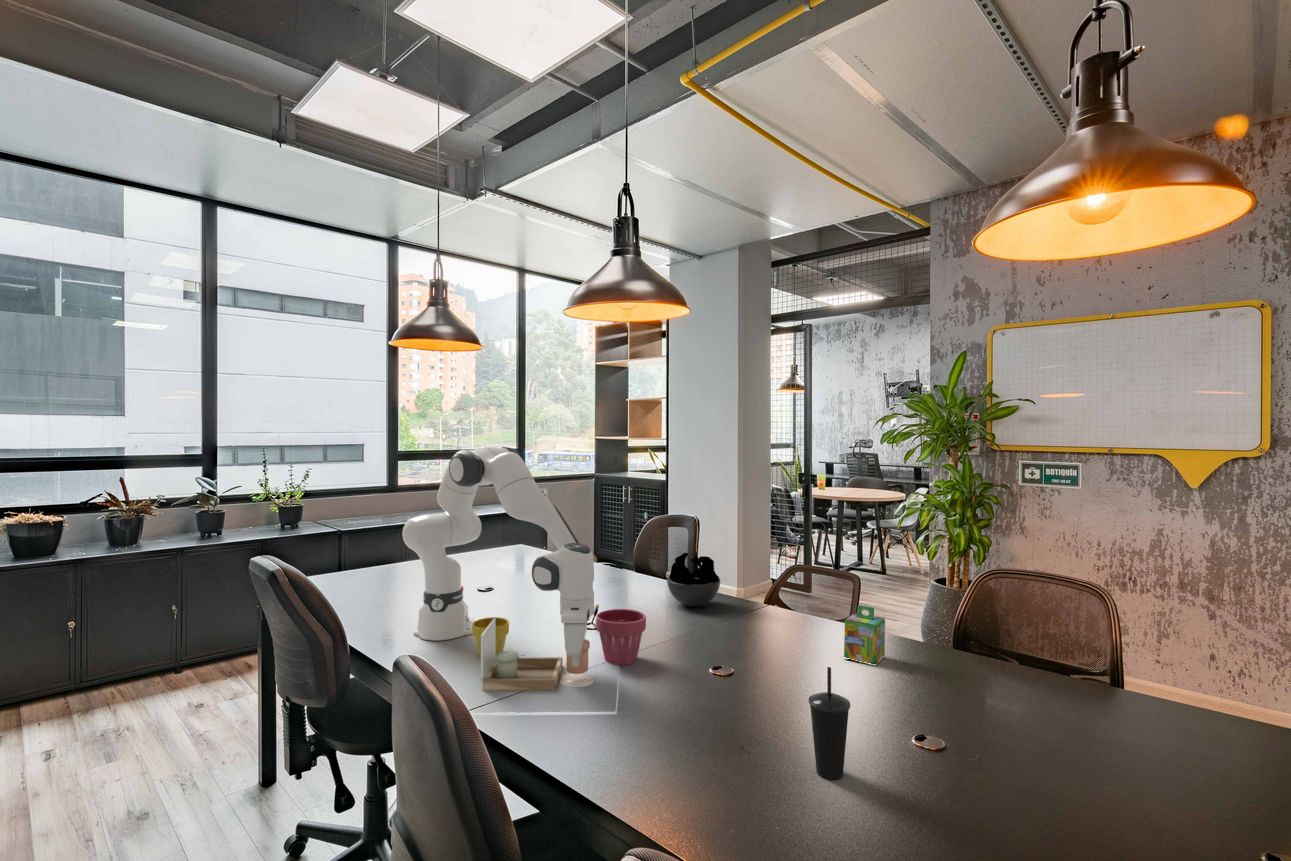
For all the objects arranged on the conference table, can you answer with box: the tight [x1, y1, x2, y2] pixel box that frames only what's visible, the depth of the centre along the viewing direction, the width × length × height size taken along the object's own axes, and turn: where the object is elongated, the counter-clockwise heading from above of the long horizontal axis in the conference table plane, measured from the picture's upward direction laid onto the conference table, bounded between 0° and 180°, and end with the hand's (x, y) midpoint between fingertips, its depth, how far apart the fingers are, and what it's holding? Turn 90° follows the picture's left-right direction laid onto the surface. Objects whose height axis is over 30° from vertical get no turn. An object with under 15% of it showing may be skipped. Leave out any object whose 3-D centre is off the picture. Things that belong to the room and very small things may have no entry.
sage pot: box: [496, 650, 520, 679], centre depth 163 cm, size 6×6×6 cm
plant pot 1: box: [471, 616, 510, 658], centre depth 181 cm, size 10×10×10 cm
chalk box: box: [843, 605, 886, 665], centre depth 178 cm, size 9×9×15 cm
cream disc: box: [559, 672, 595, 689], centre depth 161 cm, size 9×9×1 cm
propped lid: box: [480, 619, 496, 682], centre depth 163 cm, size 14×1×11 cm, turn 1°
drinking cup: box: [808, 666, 851, 781], centre depth 118 cm, size 8×8×20 cm
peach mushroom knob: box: [566, 638, 591, 674], centre depth 161 cm, size 6×6×7 cm
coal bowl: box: [666, 552, 721, 607], centre depth 234 cm, size 20×20×19 cm
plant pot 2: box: [595, 608, 647, 666], centre depth 177 cm, size 14×14×13 cm
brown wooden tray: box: [482, 656, 563, 692], centre depth 163 cm, size 16×18×3 cm
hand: (577, 660), depth 161 cm, fingers closed on peach mushroom knob, 6 cm apart
